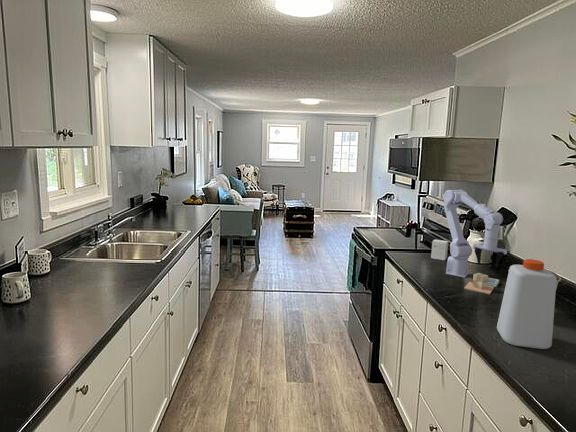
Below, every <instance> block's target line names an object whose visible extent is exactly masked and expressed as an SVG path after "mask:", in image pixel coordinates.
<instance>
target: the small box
mask: <svg viewBox="0 0 576 432" xmlns="http://www.w3.org/2000/svg"><path fill="white" fill-rule="evenodd" d="M431 242H432V243H431V253H430V254H431V256H430V258H431V259H435V260H441V261H446V260H447V259H448V249H449V248H448V247H449V241H448V240H442V239H433V240H432V241H431Z"/></svg>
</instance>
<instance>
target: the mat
mask: <svg viewBox="0 0 576 432" xmlns="http://www.w3.org/2000/svg"><path fill="white" fill-rule="evenodd" d="M472 283H473V281H468V282H467V284H466V285H465V286H464V287H463V289H464V290H468V291H471V292H476V293H482V294H486V295H491V294H492V292H493V290H494V289H495V287H494V286H489V285H487V288H485V289H478V288H475V287H472Z"/></svg>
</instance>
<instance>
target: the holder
mask: <svg viewBox="0 0 576 432" xmlns="http://www.w3.org/2000/svg"><path fill="white" fill-rule="evenodd" d="M498 284H500V279H497V278H493V277H488V281H487V286H492V287H494V288H497V286H499V285H498Z"/></svg>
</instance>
